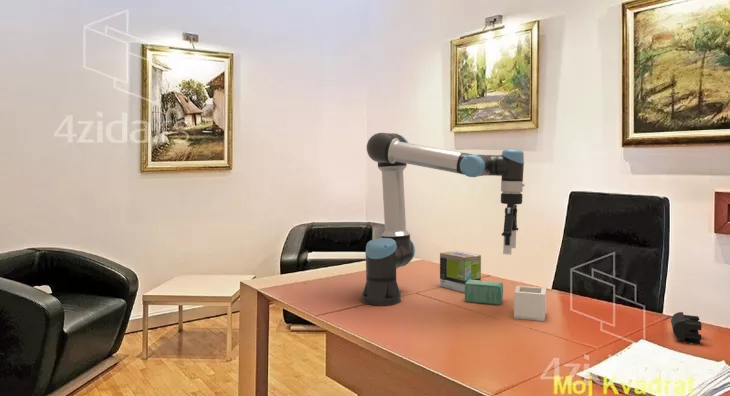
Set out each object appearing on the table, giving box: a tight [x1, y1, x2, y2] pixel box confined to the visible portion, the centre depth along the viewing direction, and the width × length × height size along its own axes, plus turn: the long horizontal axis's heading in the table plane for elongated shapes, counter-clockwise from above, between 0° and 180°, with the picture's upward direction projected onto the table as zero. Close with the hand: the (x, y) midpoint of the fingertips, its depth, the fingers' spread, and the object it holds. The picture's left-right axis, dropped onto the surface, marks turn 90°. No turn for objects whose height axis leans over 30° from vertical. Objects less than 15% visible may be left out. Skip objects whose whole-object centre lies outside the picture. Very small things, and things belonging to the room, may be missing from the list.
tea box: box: [439, 250, 482, 294], centre depth 221 cm, size 15×10×15 cm, turn 34°
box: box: [464, 280, 504, 306], centre depth 201 cm, size 7×14×8 cm, turn 69°
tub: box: [513, 285, 547, 322], centre depth 182 cm, size 10×10×9 cm
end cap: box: [670, 311, 702, 345], centre depth 158 cm, size 10×7×7 cm
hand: (509, 251), depth 192 cm, fingers open, 13 cm apart
